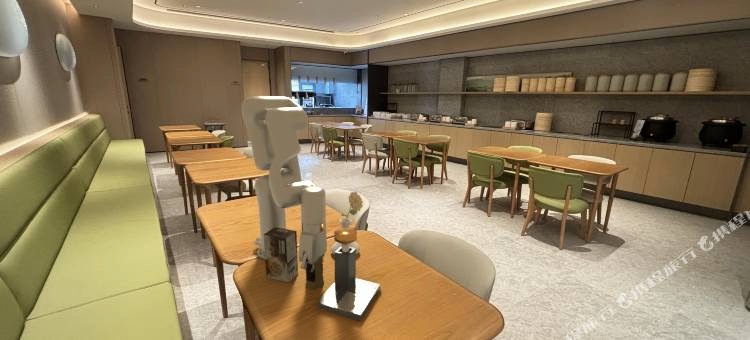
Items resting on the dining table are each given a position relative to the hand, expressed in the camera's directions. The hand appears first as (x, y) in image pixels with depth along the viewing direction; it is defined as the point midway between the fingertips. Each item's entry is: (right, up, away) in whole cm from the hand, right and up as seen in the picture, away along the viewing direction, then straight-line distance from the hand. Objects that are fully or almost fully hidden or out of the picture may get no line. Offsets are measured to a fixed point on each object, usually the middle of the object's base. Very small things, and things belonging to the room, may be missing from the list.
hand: (314, 276), depth 104 cm
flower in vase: (+9, +2, +22) cm, 24 cm away
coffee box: (-12, -1, +5) cm, 13 cm away
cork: (0, -3, +1) cm, 3 cm away
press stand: (+12, -5, -6) cm, 14 cm away
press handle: (+10, +3, -3) cm, 11 cm away
